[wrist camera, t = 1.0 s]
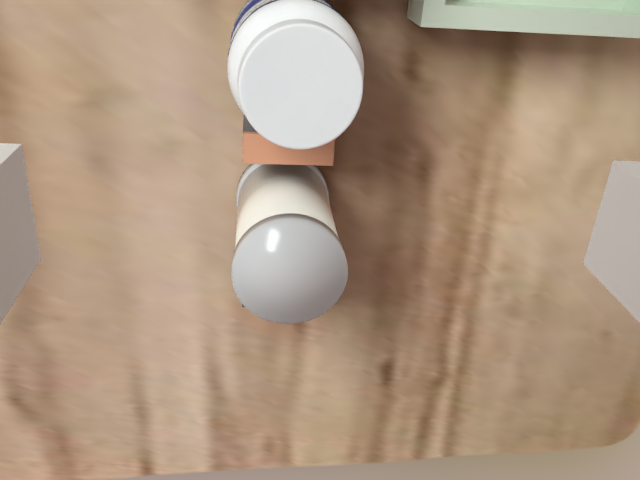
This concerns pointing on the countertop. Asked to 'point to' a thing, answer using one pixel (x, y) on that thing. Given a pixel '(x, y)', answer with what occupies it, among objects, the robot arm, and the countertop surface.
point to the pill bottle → (295, 71)
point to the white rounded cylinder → (286, 244)
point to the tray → (531, 16)
